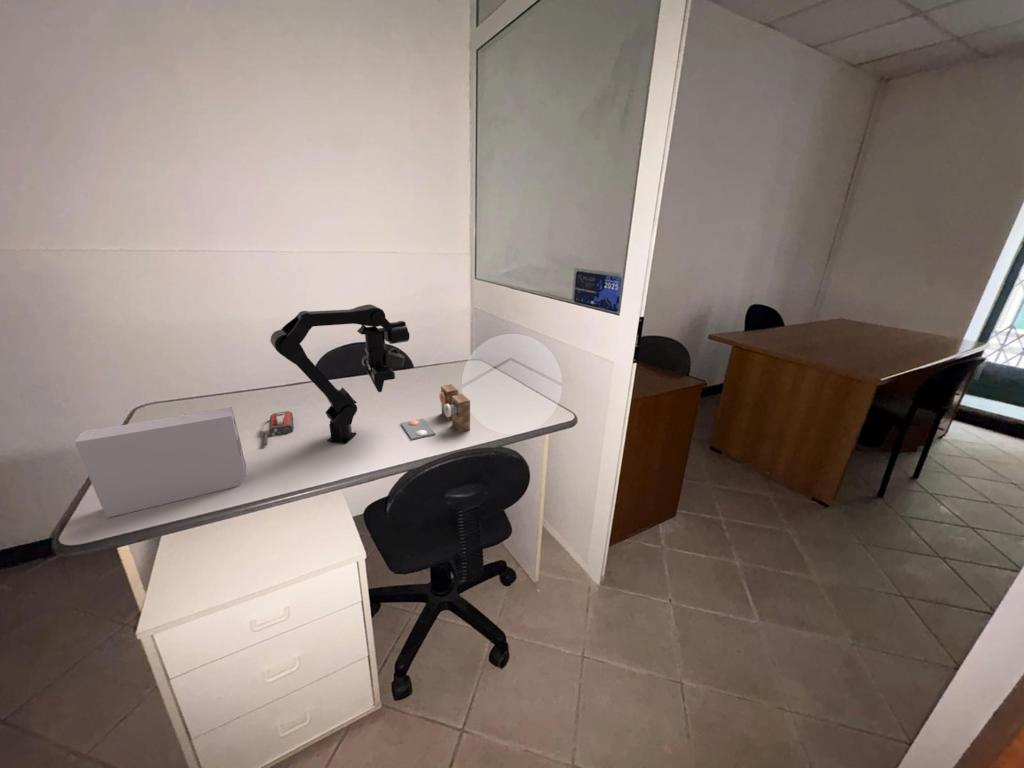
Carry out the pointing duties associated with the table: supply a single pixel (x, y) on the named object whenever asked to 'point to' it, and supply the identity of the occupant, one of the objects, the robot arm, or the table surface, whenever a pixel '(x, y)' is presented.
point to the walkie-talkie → (278, 425)
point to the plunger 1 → (444, 397)
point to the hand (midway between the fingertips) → (379, 391)
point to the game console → (162, 460)
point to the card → (417, 429)
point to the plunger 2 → (450, 409)
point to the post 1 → (448, 396)
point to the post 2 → (461, 413)
